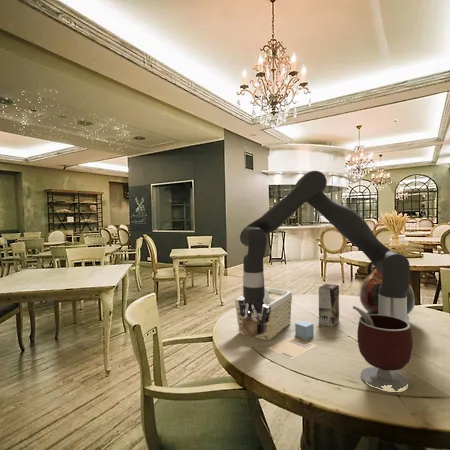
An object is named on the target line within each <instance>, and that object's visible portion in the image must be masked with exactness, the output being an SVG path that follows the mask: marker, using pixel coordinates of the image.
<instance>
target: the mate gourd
mask: <svg viewBox="0 0 450 450" xmlns="http://www.w3.org/2000/svg"><path fill="white" fill-rule="evenodd" d="M352 309H353V310H355V311H356V312H358V313H359V314H360V317H359V318H358V319H359V321H358V325H357V345H358V350H359V353H360V355H361V356H362V357H363V359H364V361H366V363H367V364H369V365H370V366H369V367H365V368H363V369H362V370H361V372H360V379H361V378H362V379H363V380H364V381H365V382H367V383H368V384H370V385H372V386H374V387H378V388H381V389H383V388H382V387H381V386H384V385H386V386H387V385H392V387H391V388H393V389H394V390H395V391H398V389H400V388H403V387H404V386H406V385H407V384H408V386H409V387H410V381H409V380H408V379H407V378H406V377H405V376H404V375H403V374H401V373H399V372H398V371H401V370H402V369H404V368H405V366H407V365H408V364H409V363H410V360H411V358H412V353H413V334H412V330H411V324H410V322H409V323H408V322H407V321H405V320H403V319H400V318H397V317H393V316H389V315H381V314H367V311H366V312H365V311H364V310H363V309H360V308H358V307H357V306H356V305H353V306H352ZM362 379H361V380H362ZM363 380H362V381H363ZM364 381H363V382H364ZM365 382H364V383H365Z"/></svg>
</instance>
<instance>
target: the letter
mask: <svg viewBox="0 0 450 450" xmlns="http://www.w3.org/2000/svg"><path fill="white" fill-rule="evenodd" d="M316 347H317V345H316V344H314V343H310V342H309V341H306V340H302V339H300V338H297V337H294V336H291V337H289V338H287V339H284V340H282V341H280V342H277V343H276V344H274V345H271V346H269V347H267V348H266V349H267V350H269V351H271V352H273V353H276V354H278V355H281V356H282V357H285V358H287V359H290V360H293V359H295V358H297V357H299V356H301V355H303V354H305V353H307V352H308V351H310V350H312V349H314V348H316Z"/></svg>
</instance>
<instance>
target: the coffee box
mask: <svg viewBox="0 0 450 450" xmlns="http://www.w3.org/2000/svg"><path fill="white" fill-rule="evenodd" d="M339 322H340V286H339V285H338V284H331V283H330V284H328V283H324V284H323V285H321V286H319V287H318V324H319V325H323V326H328V327H334V326H335V325H336V324H337V323H339Z"/></svg>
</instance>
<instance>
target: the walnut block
mask: <svg viewBox="0 0 450 450" xmlns="http://www.w3.org/2000/svg"><path fill="white" fill-rule="evenodd" d="M260 320H261V318H260ZM257 324H258V323H257V319H256V318H255V316H254V315H253V316H250V317H247V318H244V319H242V333H243V334H242V335H244V334H246V335H245V336H248V337H251V338H256V337H255V336H257V335H258V334H257ZM265 332H266V323H265V324H264V332H263V333H265Z"/></svg>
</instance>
